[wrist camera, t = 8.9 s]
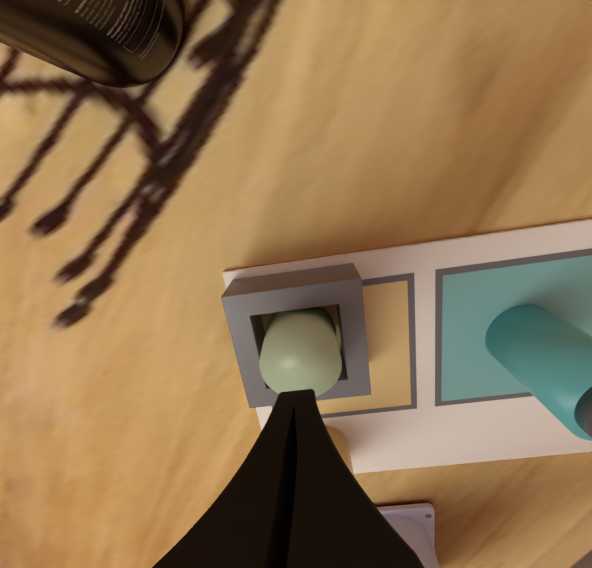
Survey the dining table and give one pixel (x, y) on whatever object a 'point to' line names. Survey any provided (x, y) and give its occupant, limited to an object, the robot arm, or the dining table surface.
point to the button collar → (291, 296)
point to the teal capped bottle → (547, 362)
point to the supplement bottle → (97, 36)
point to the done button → (300, 351)
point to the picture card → (452, 346)
